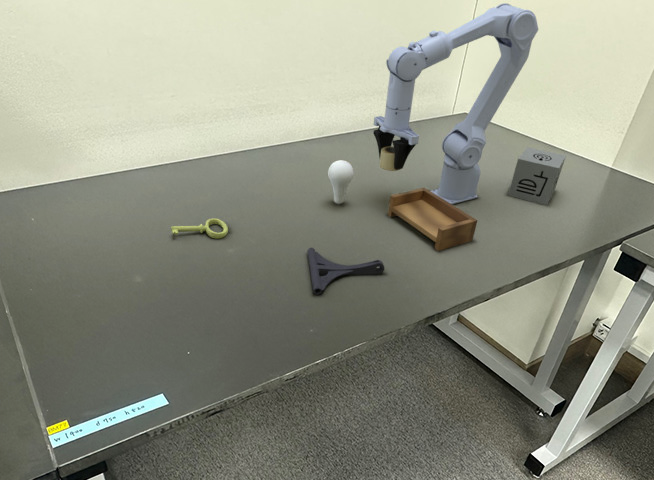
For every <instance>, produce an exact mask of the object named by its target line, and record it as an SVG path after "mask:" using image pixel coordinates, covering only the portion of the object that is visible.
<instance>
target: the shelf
mask: <svg viewBox="0 0 654 480" xmlns="http://www.w3.org/2000/svg"><path fill="white" fill-rule="evenodd" d="M431 191H432V190H429V189H427V188H426V187H421V188H417V189H412V190H407V191H403V192H400V193H394V194H391V195H390V196H389V205H388V211H387V216H388V217H390V218H393V217H397V216H398V217H399V218H401V219H402V220H403V221H405V222H406V223H408V224H409V225H411V226H412V227H413V228H414V229H416V230H418V231H419V232H420V233H422V234H423V235H425V236H426V237H427V238H429V239H430V240H432V241H433V242H434V243H435V244H434V250H436V252H440V251H443V250H446V249H450V248H453V247H457V246H460V245H463V244H467V243H470V242H473V241H474V237H475V233H476V229H477V224H478V219H477V218H475V217H474V216H471V215H470V214H468V213H466V212H465V211H463V210H462V209H460V208H458V207H457V206H455V205H454V204H450V203H449V202H447V201H445V200H444V199H442V198H440V197H439V196H437V195H435V194H434V193H432V192H431Z"/></svg>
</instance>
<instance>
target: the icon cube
mask: <svg viewBox="0 0 654 480" xmlns="http://www.w3.org/2000/svg"><path fill="white" fill-rule="evenodd" d="M566 158H567V155H566V154H561V153H556V152H551V151H547V150H542V149H538V148H533V147H528V146H527V147H526V148H525V149H524V150H523V152H522V153H521V154H520V156H518V158H517V161H516V164H515V169H514V172H513V175H512V179H511V183H510V186H509V190H508V193H507V196H509V197H513V198H517V199H521V200H525V201H529V202H532V203H536V204H540V205H543V206H548V204H549V202H550V200H551V198H552V196H553V194H554V193H555V191H556V187H557V185H558V181H559V178H560V175H561V173H562V169H563V166H564V163H565V161H566Z"/></svg>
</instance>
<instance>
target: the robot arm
mask: <svg viewBox="0 0 654 480" xmlns="http://www.w3.org/2000/svg"><path fill="white" fill-rule="evenodd" d="M538 32H539V25H538V20H537V17H536V14H535V13H534V11H532V10H529V9H523V8H521V7H516V6H513V5H512V4H509V3H505V2H504V3H500V4H497V6H495V7H494V6H493V7H491V8H489V9H488V8H487V10H486V11H485V12H484V13H482V14H480V15H479V16H477V17H475V18H473V19H471V20H469V21H468V22H466V23H464V24H462V25H460V26H459V27H457V28H455V29H453V30H451V31H449V32H448V33H446V32H444V31H442V30H439V31H436V30H434V29H433V30H431V31H429V33H428V36H426V37H424V38H422V39H419V40H417V41H416V42H415V41H411V42H409V43H408V46H407V47H406V46H399V47H396V48H395V49H393V50H392V52H391V53H390V54H389V56H388V59H386V63H385V64H386V67H387V70H388V72H389V77H388V86H387V93H386V100H385V109H384V116H382V115H378V116H374V119H373V126H375V127H377V129H374V130H373V135H374V138H375V140H376V145H377V150H378V156H379V159H380V157H381V149H382V148H384V147H388V146H392V145H393V147H394V152H395V158H394V169H396V170H398V169H400V170H402V169H403V168H404V166H405V164H406V161H407V159H408V157H409V155H410V154H411V151H412V150H414V148H415V147H416V146H417V145H418V144H419V138H420V135H419V134H417V133H416V132H415V131H414V130H413V129H412V128H411V126H410V118H411V112H412V106H413V99H414V91H415V86H416V79H417V78H419V76H420V75H421V73H422V71H424V70H426V69H428V68H431V67H432V66H434V65H436V64H438V63H441V62H443V61H445V60H447V59H449V58H450V57H451V54H452V52H453V50H455V49H458V48H460V47H462V46H464V45H467V44H470V43H472V42H474V41H477V40H479V39H481V38H484V37H486V36H490V37H493V38H494V39H495V41H496V42H497V44H498V49H499V52H500V57H499V58H498V61H497V63H496V64H495V66H494V68H493V69H492V71H491V73H490V74H489V77H488V78H487V80H486V82H485V84H484V85H483V87H482V89H481V90H480V92H479V94H478V95H477V98H476V99H475V101H474V103H473V104H472V106H471V108H470V110H469V112H468V113H467V115H466V116H465V119H464V120H462V121H459V122H457V123H456V124H455V125H454V127H453V128H452V130H450V132H449V133H447V134H446V135H445V136H444V138H443V140H442V143H441V150H442V152H443V153H444V157H443V158H444V159H443V163H442V168H441V174H440V180H439V185H438V188H437V189H433V190H430V191H431V192H432V193H434V194H435V195H437V196H439V197H440V198H442V199H444V200H445V201H447V202H449V203H450V204H452V205H455V204H459V203H462V202H466V201H471V200H474V199H477V198H478V195H477V190H478V185H479V182H480V178H481V166H480V165H479V162H480V160H481V158H482V155H483V149H484V148H485V146H486V144H487V140H486V139H487V138H486V130H487V128H488V126H489V125H490V123H491V121H492V119H493V118H494V116H495V115H496V113H497V111H498V110H499V108H500V106H501V105H502V103H503V101H504V99H505V98H506V96H507V94H508V92H509V91H510V89H511V88H512V86H513V84H514V82H515V81H516V79H517V77H518V76H519V74H520V72H521V71H522V70H523V67H524V66H525V64H526V62H527V60H528V58H529V56H530V51H531V49H532V48H531V47H532V42H533V40H534V39H535V37H536V35H537V33H538ZM395 136H397V137H398V138H399V139H394V138H395ZM398 171H399V170H398Z"/></svg>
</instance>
